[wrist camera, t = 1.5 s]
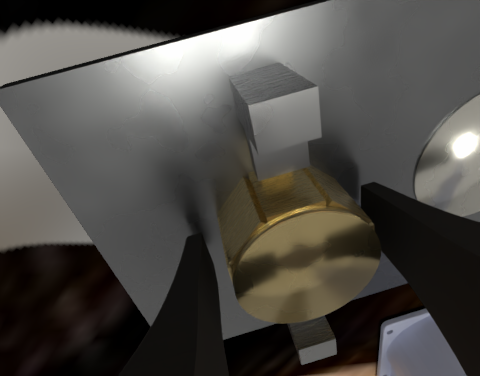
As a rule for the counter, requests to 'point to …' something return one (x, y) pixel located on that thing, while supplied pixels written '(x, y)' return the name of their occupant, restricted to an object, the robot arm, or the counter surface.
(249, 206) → the cap
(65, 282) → the counter surface
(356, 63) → the base
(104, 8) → the counter surface
